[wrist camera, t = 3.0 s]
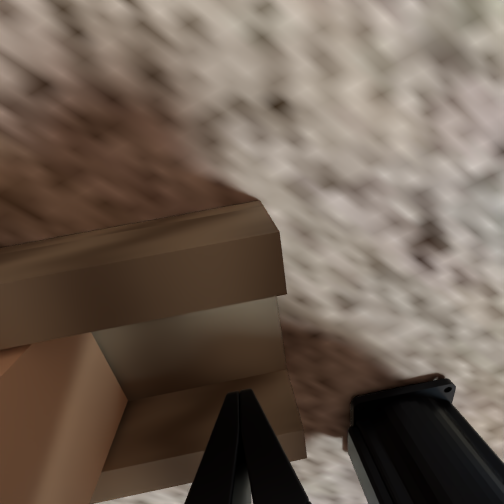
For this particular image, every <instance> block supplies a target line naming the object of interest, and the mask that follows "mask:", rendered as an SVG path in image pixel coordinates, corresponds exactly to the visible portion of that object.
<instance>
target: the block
mask: <svg viewBox="0 0 504 504" xmlns="http://www.w3.org/2000/svg"><path fill="white" fill-rule="evenodd" d="M127 402H128V400H127V398H126V396H125V394H124V392H123V390H122V389H121V387H120V385H119V383H118V381H117V379H116V377H115V376H114V374H113V372H112V370H111V368H110V366H109V364H108V363H107V361H106V359H105V357H104V355H103V353H102V351H101V350H100V348H99V346H98V344H97V342H96V340H95V338H94V337H93V335H92V333H91V332H89V333H84V334H79V335H74V336H69V337H63V338H58V339H53V340H48V341H43V342H38V343H32V344H27V345H22V346H17V347H12V348H7V349H1V350H0V504H90V501H91V498H92V496H93V493H94V490H95V488H96V485H97V482H98V480H99V477H100V474H101V471H102V469H103V466H104V463H105V461H106V458H107V455H108V453H109V450H110V447H111V445H112V442H113V439H114V437H115V434H116V431H117V429H118V426H119V423H120V420H121V418H122V415H123V412H124V410H125V407H126V404H127Z"/></svg>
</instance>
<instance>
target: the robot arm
mask: <svg viewBox="0 0 504 504" xmlns="http://www.w3.org/2000/svg"><path fill="white" fill-rule="evenodd" d="M455 389H456V386H455V385H454V384H453V383H452V382H451V381H450V380H449V379H447V378H446V379H440V380H435V381H430V382H425V383H421V384H416V385H411V386H406V387H401V388H396V389H392V390H387V391H382V392H377V393H372V394H367V395H363V396H358V397H355V398H354V399H353V400H352V401H351V426H350V427H349V429H348V454H349V456H350V459H351V461H352V464H353V466H354V469H355V471H356V474H357V476H358V479H359V481H360V484H361V486H362V489H363V491H364V494H365V496H366V499H367V501H368V504H504V463H503V462H502V461H501V459H500V458H499V457H498V456H497V455H496V454H495V453H494V451H493V450H492V449H491V448H490V447H489V446H488V445H487V443H486V442H485V441H484V440H483V439H482V438H481V437H480V435H479V434H478V433H477V432H476V431H475V430H474V429H473V427H472V426H471V425H470V424H469V423H468V422H467V420H466V419H465V418H464V417H463V416H462V415H461V414H460V412H459V411H458V410H457V409H456V408H455V407H454V406H453V404H452V401H453V397H454V393H455ZM251 493H252V499H253V504H311V502H310V501H309V499H308V496H307V494H306V492H305V491H304V489H303V487H302V485H301V483H300V481H299V479H298V477H297V475H296V473H295V471H294V469H293V467H292V465H291V463H290V461H289V460H288V458H287V456H286V454H285V452H284V450H283V448H282V446H281V444H280V442H279V440H278V438H277V436H276V434H275V432H274V430H273V428H272V427H271V425H270V423H269V421H268V419H267V417H266V415H265V413H264V411H263V409H262V407H261V405H260V403H259V401H258V399H257V397H256V396H255V394H254V392H253V390H252V389H251V388H248V389H243V390H241V391H240V392H239V391H233V392H228V393H227V394H226V396H225V399H224V401H223V404H222V407H221V409H220V412H219V415H218V417H217V420H216V422H215V425H214V428H213V430H212V433H211V436H210V438H209V441H208V443H207V446H206V449H205V451H204V454H203V456H202V459H201V462H200V464H199V467H198V470H197V472H196V475H195V477H194V480H193V483H192V485H191V488H190V491H189V493H188V496H187V498H186V501H185V504H251Z"/></svg>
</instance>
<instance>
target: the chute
mask: <svg viewBox="0 0 504 504" xmlns="http://www.w3.org/2000/svg"><path fill="white" fill-rule="evenodd" d="M285 294H287V290H286V282H285V273H284V265H283V257H282V249H281V240H280V232H279V230H278V229H277V227H276V225H275V224H274V222H273V221H272V219H271V217H270V216H269V214H268V213H267V211H266V209H265V208H264V206H263V204H262V203H261V201H254V202H249V203H243V204H238V205H232V206H227V207H221V208H216V209H210V210H205V211H199V212H194V213H188V214H183V215H177V216H172V217H166V218H161V219H155V220H150V221H144V222H139V223H134V224H128V225H123V226H117V227H112V228H106V229H101V230H95V231H90V232H84V233H79V234H73V235H68V236H62V237H57V238H51V239H46V240H40V241H35V242H29V243H24V244H18V245H13V246H7V247H2V248H0V350H1V349H7V348H12V347H17V346H22V345H27V344H32V343H38V342H43V341H48V340H53V339H58V338H63V337H69V336H74V335H79V334H84V333H89V332H91V333H92V335H93V337H94V338H95V340H96V342H97V344H98V346H99V348H100V350H101V351H102V353H103V355H104V357H105V359H106V361H107V363H108V364H109V366H110V368H111V370H112V372H113V374H114V376H115V377H116V379H117V381H118V383H119V385H120V387H121V389H122V390H123V392H124V394H125V396H126V398H127V400H128V402H127V404H126V407H125V410H124V412H123V415H122V418H121V420H120V423H119V426H118V429H117V431H116V434H115V437H114V439H113V442H112V445H111V447H110V450H109V453H108V455H107V458H106V461H105V463H104V466H103V469H102V471H101V474H100V477H99V480H98V482H97V485H96V488H95V490H94V493H93V496H92V498H91V501H90V504H94V503H98V502H103V501H108V500H112V499H117V498H122V497H126V496H131V495H136V494H141V493H145V492H150V491H155V490H159V489H164V488H169V487H173V486H178V485H183V484H188V483H192V482H193V480H194V477H195V475H196V472H197V470H198V467H199V464H200V462H201V459H202V456H203V454H204V451H205V449H206V446H207V443H208V441H209V438H210V436H211V433H212V430H213V428H214V425H215V422H216V420H217V417H218V415H219V412H220V409H221V407H222V404H223V401H224V399H225V396H226V394H227V393H228V392H233V391H239V392H240V391H241V390H243V389H248V388H251V389H252V390H253V392H254V394H255V396H256V397H257V399H258V401H259V403H260V405H261V407H262V409H263V411H264V413H265V415H266V417H267V419H268V421H269V423H270V425H271V427H272V428H273V430H274V432H275V434H276V436H277V438H278V440H279V442H280V444H281V446H282V448H283V450H284V452H285V454H286V456H287V458H288V460H289V461H290V462H291V461H295V460H300V459H305V458H307V454H306V446H305V438H304V430H303V426H302V422H301V419H300V415H299V412H298V408H297V404H296V401H295V397H294V394H293V390H292V386H291V383H290V379H289V375H288V372H287V367H286V360H285V353H284V346H283V339H282V332H281V325H280V318H279V311H278V304H277V297H276V296H280V295H285Z"/></svg>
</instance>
